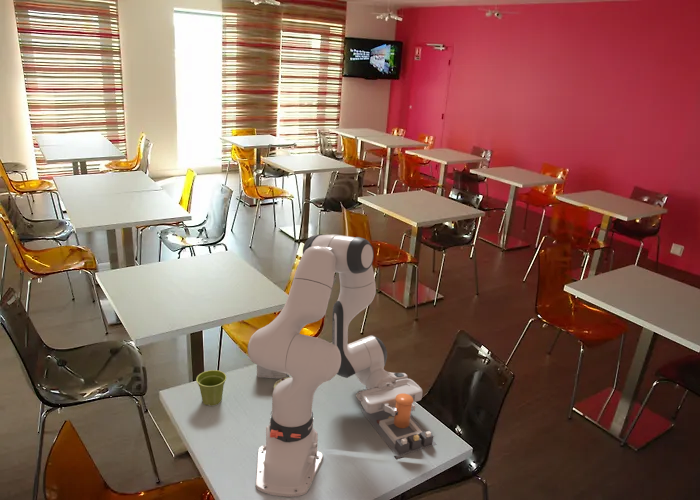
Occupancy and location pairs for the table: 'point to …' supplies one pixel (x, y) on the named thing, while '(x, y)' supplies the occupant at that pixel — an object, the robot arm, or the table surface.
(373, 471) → the table surface
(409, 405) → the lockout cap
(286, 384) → the robot arm
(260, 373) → the light bulb box
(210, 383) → the plant pot
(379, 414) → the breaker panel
